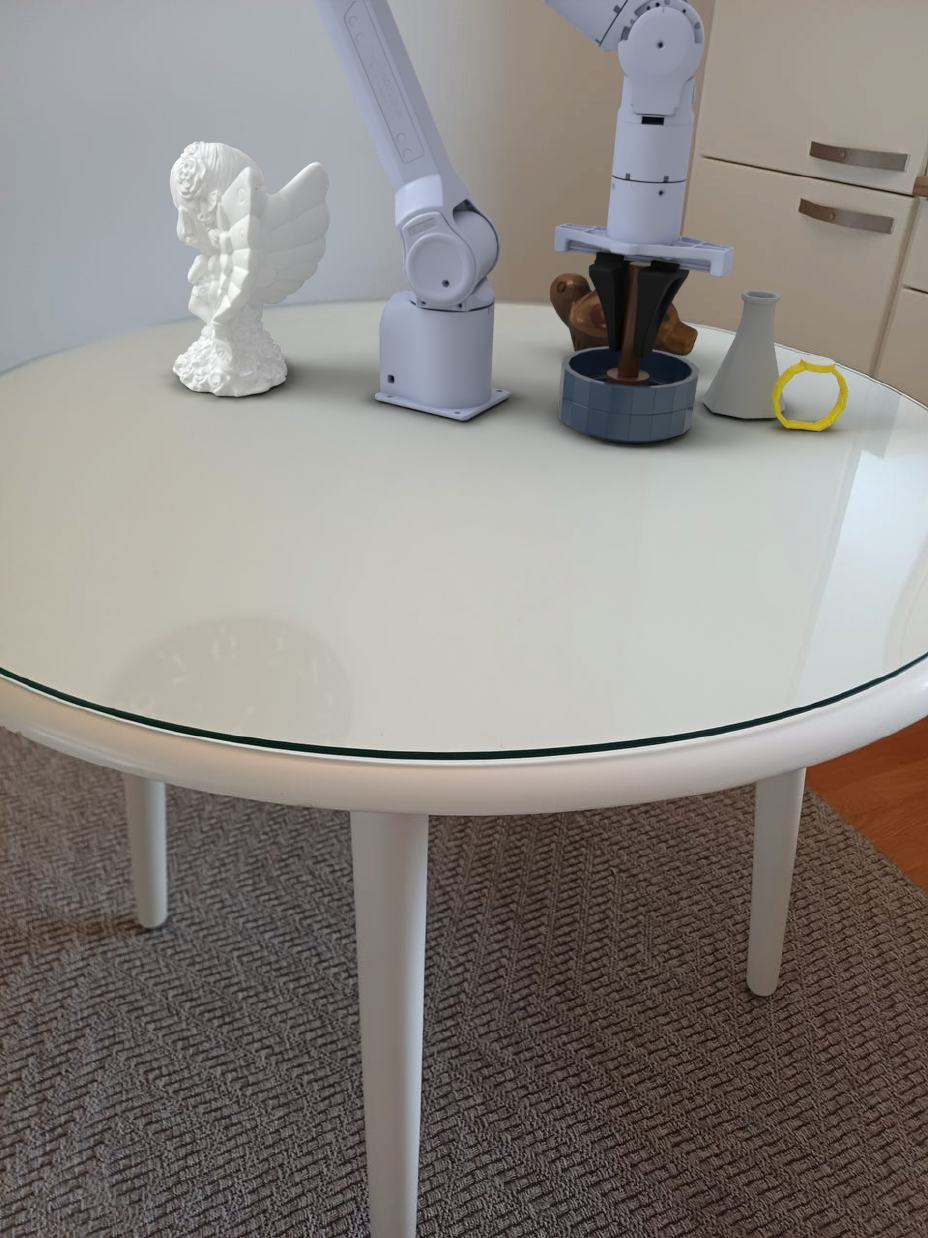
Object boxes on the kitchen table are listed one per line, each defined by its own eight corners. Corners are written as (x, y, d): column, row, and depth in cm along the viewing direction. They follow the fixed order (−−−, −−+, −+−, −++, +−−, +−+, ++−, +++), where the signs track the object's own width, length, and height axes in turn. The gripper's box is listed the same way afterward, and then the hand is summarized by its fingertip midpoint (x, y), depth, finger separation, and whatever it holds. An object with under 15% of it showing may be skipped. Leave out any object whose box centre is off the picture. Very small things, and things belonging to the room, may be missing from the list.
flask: (786, 425, 93) (808, 307, 88) (701, 417, 94) (717, 300, 89) (782, 398, 99) (803, 286, 94) (702, 391, 100) (718, 280, 95)
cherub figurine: (233, 347, 108) (215, 127, 98) (342, 366, 104) (335, 139, 94) (148, 384, 98) (118, 143, 88) (265, 407, 93) (248, 156, 83)
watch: (771, 432, 91) (783, 363, 88) (764, 421, 94) (776, 353, 91) (842, 435, 91) (857, 365, 88) (833, 423, 94) (847, 355, 91)
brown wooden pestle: (598, 386, 91) (610, 264, 86) (616, 375, 94) (628, 256, 89) (637, 395, 90) (652, 271, 85) (655, 383, 92) (670, 263, 87)
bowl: (534, 428, 91) (538, 370, 88) (593, 393, 99) (598, 338, 96) (659, 458, 86) (666, 397, 83) (710, 418, 94) (718, 361, 91)
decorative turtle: (553, 338, 114) (564, 259, 110) (696, 366, 110) (713, 286, 106) (527, 359, 105) (538, 274, 102) (680, 390, 102) (699, 304, 98)
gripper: (541, 172, 84) (530, 347, 91) (720, 194, 77) (694, 380, 84) (581, 162, 89) (569, 328, 96) (753, 182, 82) (726, 358, 89)
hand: (630, 351), depth 90 cm, fingers closed on brown wooden pestle, 2 cm apart
